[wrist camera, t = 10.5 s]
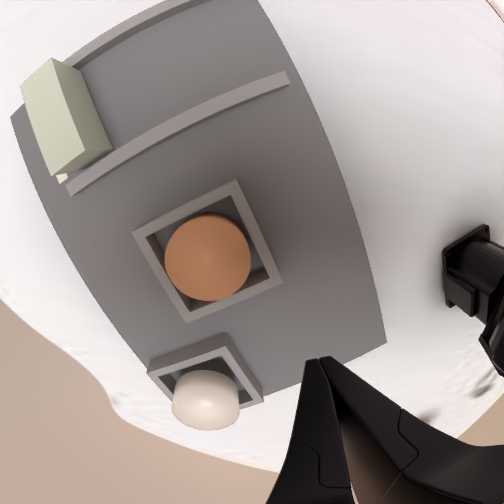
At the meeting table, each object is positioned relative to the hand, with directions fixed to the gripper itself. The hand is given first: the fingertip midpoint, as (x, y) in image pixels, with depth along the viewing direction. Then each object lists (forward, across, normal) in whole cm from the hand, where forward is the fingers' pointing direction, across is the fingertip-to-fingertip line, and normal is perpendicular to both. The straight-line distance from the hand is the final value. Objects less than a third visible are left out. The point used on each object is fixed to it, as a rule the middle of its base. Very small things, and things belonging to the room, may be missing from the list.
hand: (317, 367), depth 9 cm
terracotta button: (+9, +4, -1) cm, 10 cm away
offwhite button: (+8, +6, +9) cm, 13 cm away
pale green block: (+9, +11, -11) cm, 18 cm away
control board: (+12, +4, -2) cm, 12 cm away
